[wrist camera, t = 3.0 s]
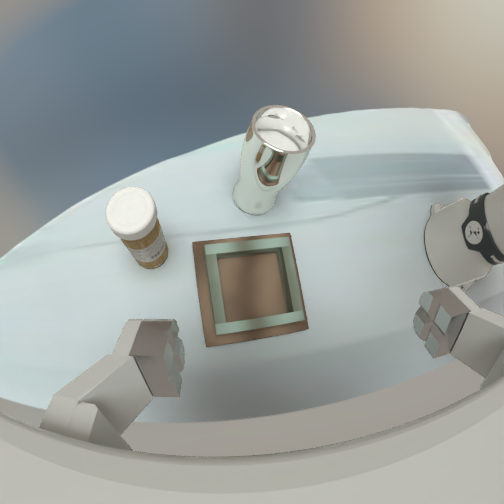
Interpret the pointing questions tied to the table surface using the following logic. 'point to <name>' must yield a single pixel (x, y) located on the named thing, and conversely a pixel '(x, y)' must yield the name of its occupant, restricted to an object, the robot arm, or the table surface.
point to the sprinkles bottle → (137, 225)
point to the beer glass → (271, 156)
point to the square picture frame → (248, 288)
